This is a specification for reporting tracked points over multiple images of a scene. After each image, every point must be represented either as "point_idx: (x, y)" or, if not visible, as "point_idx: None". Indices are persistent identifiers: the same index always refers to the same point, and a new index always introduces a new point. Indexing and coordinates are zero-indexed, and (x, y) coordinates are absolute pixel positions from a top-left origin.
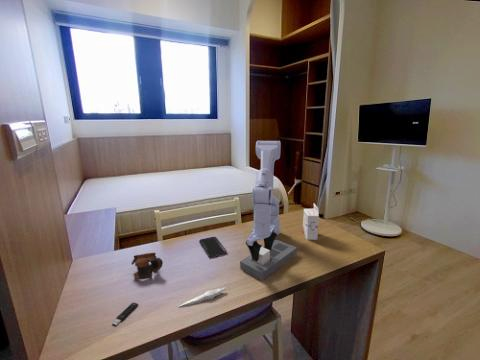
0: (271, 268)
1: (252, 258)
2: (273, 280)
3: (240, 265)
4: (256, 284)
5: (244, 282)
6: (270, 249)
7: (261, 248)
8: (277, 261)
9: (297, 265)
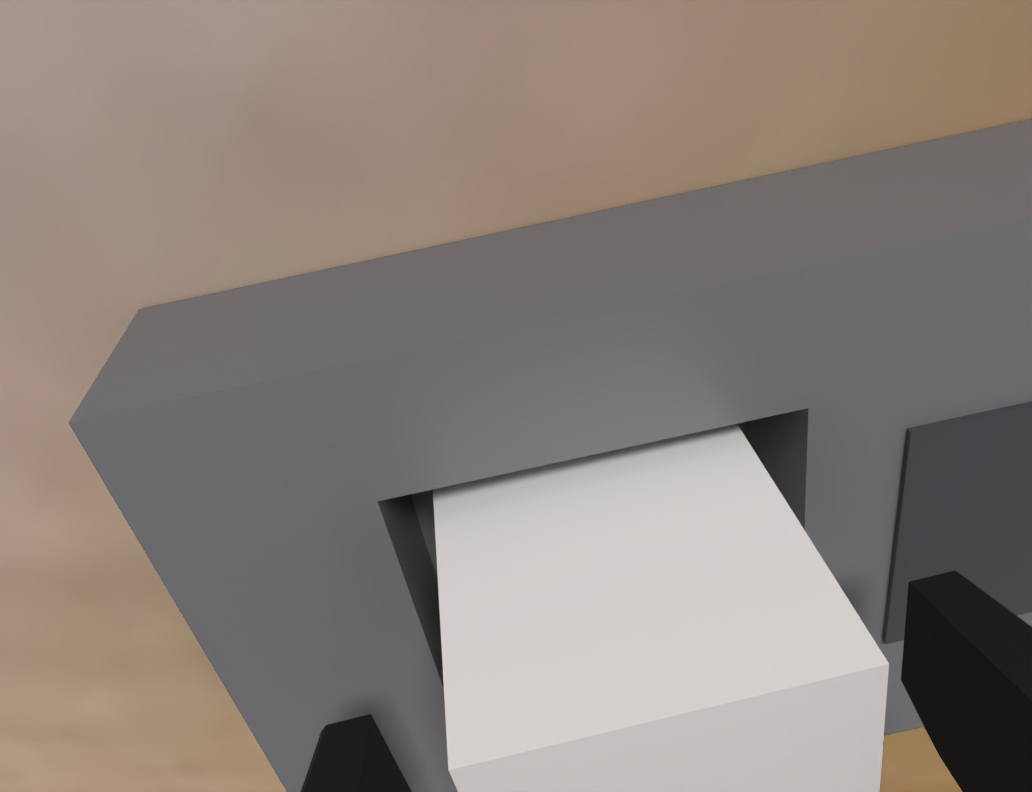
0: None
1: (315, 769)
2: None
3: (117, 362)
4: (216, 735)
5: (47, 646)
6: (963, 771)
7: (788, 772)
8: None
9: None
